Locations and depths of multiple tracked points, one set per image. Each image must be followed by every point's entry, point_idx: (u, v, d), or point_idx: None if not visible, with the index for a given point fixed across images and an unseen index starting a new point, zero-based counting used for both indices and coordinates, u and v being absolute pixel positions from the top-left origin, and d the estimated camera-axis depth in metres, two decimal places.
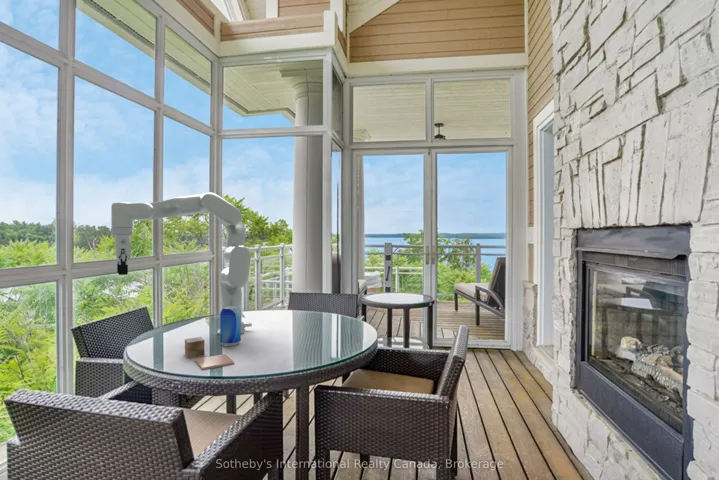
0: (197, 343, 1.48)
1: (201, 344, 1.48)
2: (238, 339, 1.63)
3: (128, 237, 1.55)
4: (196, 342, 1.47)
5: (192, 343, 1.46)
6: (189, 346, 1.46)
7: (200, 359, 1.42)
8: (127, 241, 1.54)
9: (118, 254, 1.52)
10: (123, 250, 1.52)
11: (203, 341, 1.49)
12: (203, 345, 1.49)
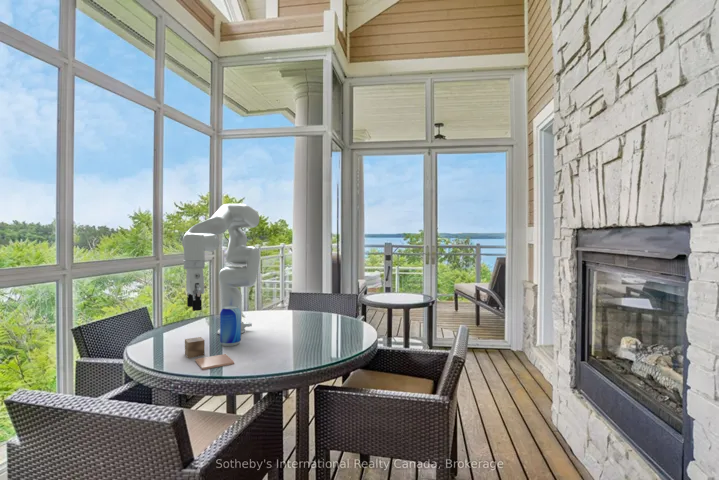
0: (197, 343, 1.47)
1: (201, 344, 1.48)
2: (238, 339, 1.63)
3: (202, 270, 1.47)
4: (196, 342, 1.47)
5: (192, 343, 1.46)
6: (189, 346, 1.46)
7: (200, 359, 1.42)
8: (201, 275, 1.46)
9: (192, 289, 1.44)
10: (197, 285, 1.45)
11: (203, 341, 1.49)
12: (203, 345, 1.49)
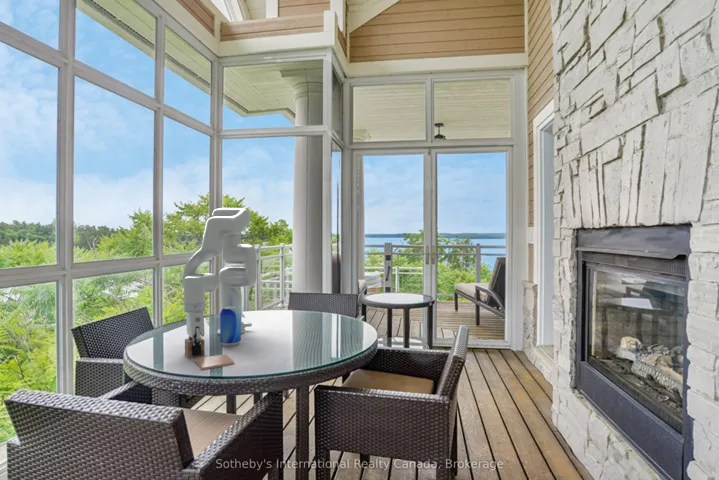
0: None
1: (201, 344, 1.48)
2: (238, 339, 1.63)
3: (202, 313, 1.47)
4: None
5: (192, 343, 1.46)
6: (189, 346, 1.46)
7: (200, 359, 1.42)
8: (201, 318, 1.47)
9: (192, 335, 1.45)
10: (198, 330, 1.45)
11: (203, 341, 1.49)
12: (203, 344, 1.49)
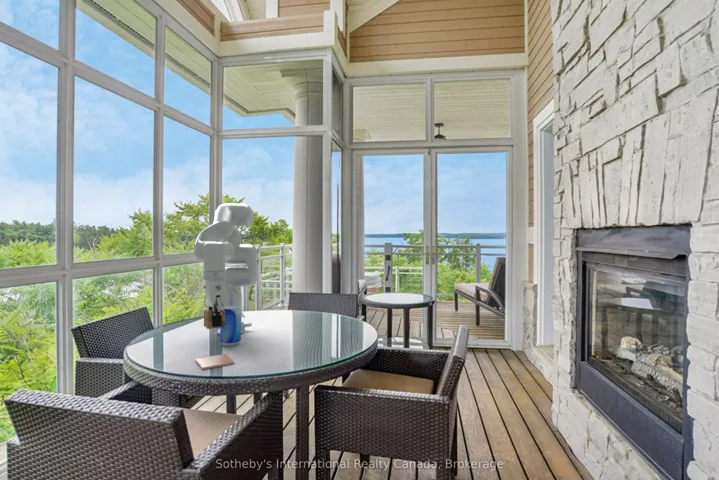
0: None
1: None
2: (238, 339, 1.63)
3: (223, 282, 1.38)
4: None
5: (212, 313, 1.37)
6: (209, 316, 1.36)
7: (200, 359, 1.42)
8: (222, 286, 1.37)
9: (213, 304, 1.36)
10: (218, 299, 1.36)
11: (223, 311, 1.39)
12: (224, 315, 1.39)
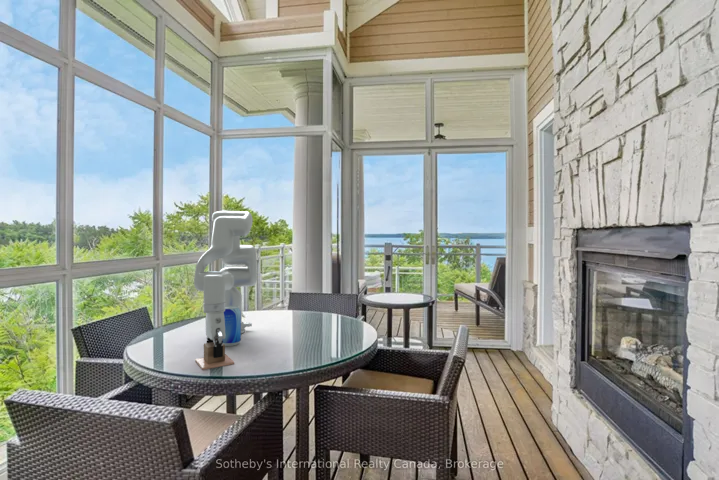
0: None
1: None
2: (238, 339, 1.63)
3: (223, 314, 1.38)
4: None
5: (212, 348, 1.37)
6: (209, 351, 1.37)
7: (200, 359, 1.42)
8: (222, 319, 1.37)
9: (213, 335, 1.35)
10: (219, 330, 1.36)
11: (223, 346, 1.40)
12: (224, 350, 1.40)
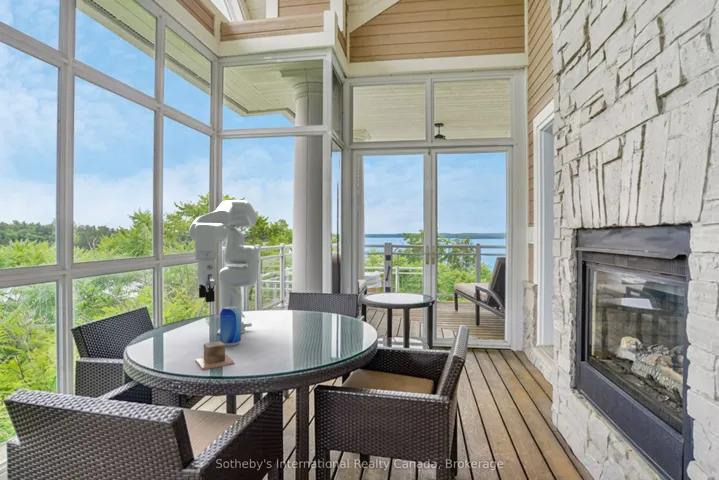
0: (217, 348, 1.38)
1: (221, 349, 1.39)
2: (238, 339, 1.63)
3: (214, 261, 1.45)
4: (216, 347, 1.38)
5: (212, 348, 1.37)
6: (209, 351, 1.37)
7: (200, 359, 1.42)
8: (213, 266, 1.44)
9: (205, 280, 1.42)
10: (210, 276, 1.43)
11: (223, 346, 1.40)
12: (224, 350, 1.40)
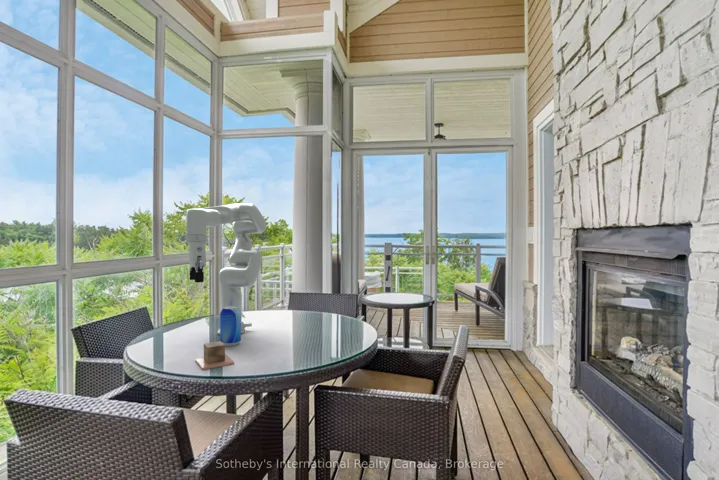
0: (217, 348, 1.38)
1: (221, 349, 1.39)
2: (238, 339, 1.63)
3: (203, 244, 1.53)
4: (216, 347, 1.38)
5: (212, 348, 1.37)
6: (209, 351, 1.37)
7: (200, 359, 1.42)
8: (203, 248, 1.52)
9: (195, 261, 1.50)
10: (200, 257, 1.51)
11: (223, 346, 1.40)
12: (224, 350, 1.40)
